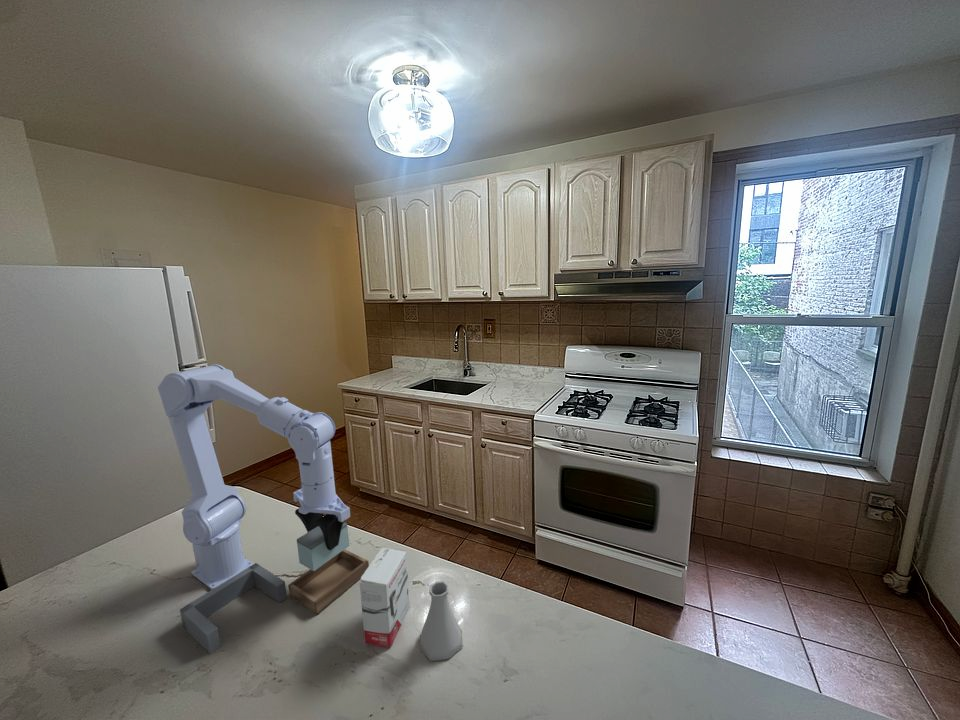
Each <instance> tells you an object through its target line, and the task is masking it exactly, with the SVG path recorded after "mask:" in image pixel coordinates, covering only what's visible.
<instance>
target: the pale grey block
mask: <svg viewBox="0 0 960 720" xmlns="http://www.w3.org/2000/svg"><path fill="white" fill-rule="evenodd" d="M296 545H297V546H296V547H297V554H298V563H299V564H301V565H302V566H304V567H306V568H307V569H309V570H310V569H311V570H312V571H315V570H316V569H318V568H319V567H321V566H322V565H323V564H325V563H326V562H328V561H329V560H330V559H332V558H333V557H334V556H336V555H337V554H339V553H340V552H341V551H343V550H344V549H345V550H347V548H349V546H350V538H349V529H348V523H347V522H345V521H344V523H343V526H342V529H341V533H340V539H339V544H338V545H337V546H336V547H334V548H333V549H332V550H328V549H327V547H326V544H325V539H324V535H323V533H322V530H321V528H320V527H319V526H318V527H316V528H314V529H313V530H311V531H309V532H306V533H305V534H303V535H301V536H300V537H298V538H296Z"/></svg>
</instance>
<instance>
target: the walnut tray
mask: <svg viewBox="0 0 960 720" xmlns="http://www.w3.org/2000/svg"><path fill="white" fill-rule="evenodd" d="M369 565H370V562H369V560H368V559H366V558H363V557H361V556H359V555H357V554H355V553H353V552H351V551H349V550H347V549H344V550H343V551H341V552H340V553H339V554H337V555H336V556H334V557H333V558H332V559H330V560H329V561H328V562H326V563H325V564H323V565H322V566H321V567H319V568H318V569H316V570H315V571H312V570H311V569H309V570H307V571H306V572H304V573H303V574H301V576H299V577H297V578H296V579H295V580H293V581H291V583H289V584H287V586H288V594H289V598H291V599H293V600H294V601H296V602H297V603H299V604H300V605H302V606H303V607H305V608H307V609H308V610H309V611H311V612H312V613H314V614H315V615H317V616H318V615H320V614H321V613H322V612H323V611H324V610H325V609H327V608H328V607H330V605H331V604H333V603H334V602H335V601H336V600H337V599H338V598H340V597H341V596H342V595H344V594H345V593H346V592H347V591H348V590H349V589H351V588H352V587H353V586H354V585H356V583H358V581H359V582H360V581H361V576H362V575H363V574H364V572H365V571H366V569H367V568H368V567H369Z"/></svg>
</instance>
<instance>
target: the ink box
mask: <svg viewBox="0 0 960 720" xmlns="http://www.w3.org/2000/svg"><path fill="white" fill-rule="evenodd" d="M407 558H408V557H407V551H406V550H403V549H397V548H396V549H395V548H388V547H382V548H380V549H379V552H378V553H376V555H375V557H374V559H372V561H371V562H370V563H369V567H368V568H367V569H366V571H365V572H364V574H363V575H362V576H361V579H360V580H359V589H360V590H359V591H360V592H359V593H360V603H361V611H362V613H361V614H362V615H361V616H362V624H363V635H364V636H363V637H364V642H365V643H364V644H367V645H372V646H377V647H384V648H391V647H392V646H393V643H394V642H395V639H396V637H397V635H398V633H399V632H400V629H401V627H402V624H403V623H404V620H405V619H406V616H407V614H408V612H409V609H410V608H411V601H410V600H411V599H410V588H409V573H408V560H407Z"/></svg>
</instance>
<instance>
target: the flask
mask: <svg viewBox="0 0 960 720" xmlns="http://www.w3.org/2000/svg"><path fill="white" fill-rule="evenodd" d="M428 589H429V590H428V593H429V596H430V597H431V600H430V607H429V610H428V613H427V616H426V619H425V621H424V624H423V627H422V630H421V633H420V644H419V649H420V650H421V651H422V653H423V654H424V655H425V657H426V658H427V659H428V661H430V662H432V661H433V662H434V661H441V660H449V659H450V658H452V656H454V655H455V654H456V653H458V652H459V651H460V650H461V649H462V648H463V631H462V628H461V626H460V625H459V623H458V620H457V619H456V616H455V615H454V612H453V611H452V608H451V606H450V602H449V600H448V595H449V584H448V583H447V582H445V581H444V580H439V581H435V582H433V583H432V584H430V585H429V588H428Z"/></svg>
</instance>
